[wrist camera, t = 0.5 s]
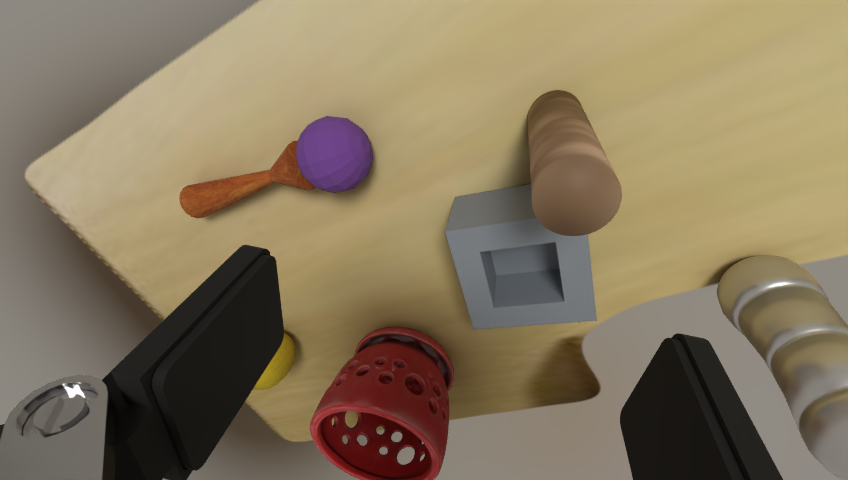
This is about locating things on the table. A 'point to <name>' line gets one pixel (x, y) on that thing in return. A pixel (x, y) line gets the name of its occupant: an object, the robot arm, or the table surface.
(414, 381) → the plant pot
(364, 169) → the purple maraca
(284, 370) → the lemon
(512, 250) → the socket
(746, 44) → the table surface
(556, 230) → the peg
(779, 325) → the plastic bottle
